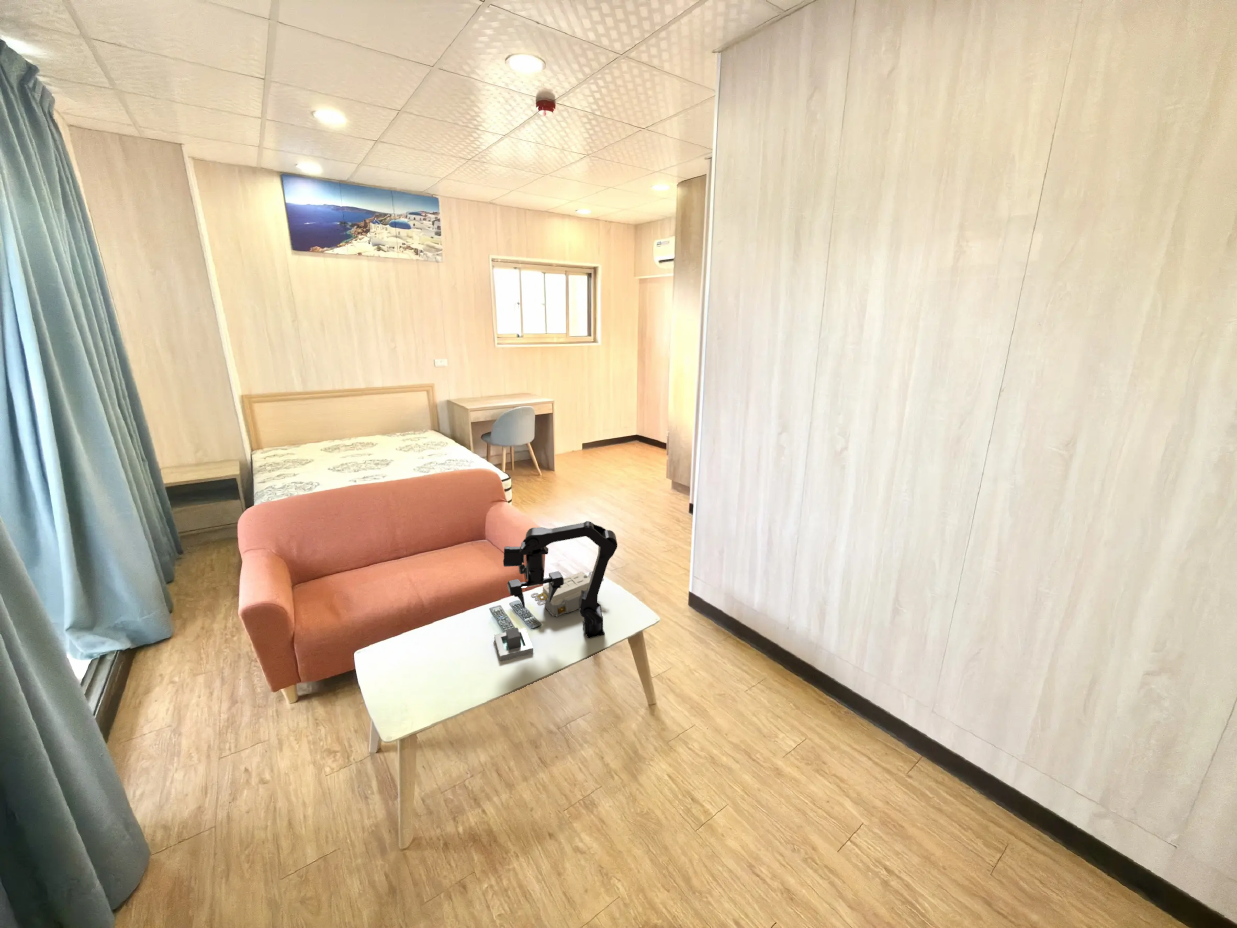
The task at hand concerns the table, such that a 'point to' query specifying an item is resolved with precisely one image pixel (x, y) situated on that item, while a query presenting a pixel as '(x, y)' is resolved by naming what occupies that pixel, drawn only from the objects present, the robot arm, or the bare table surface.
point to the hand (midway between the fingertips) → (536, 604)
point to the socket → (523, 650)
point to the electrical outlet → (564, 594)
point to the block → (513, 638)
